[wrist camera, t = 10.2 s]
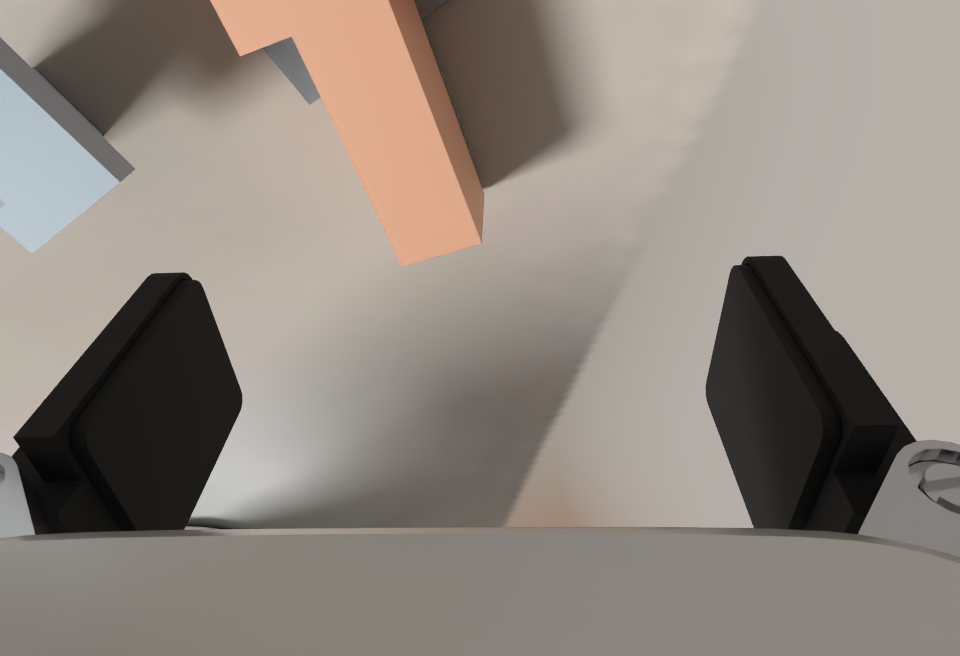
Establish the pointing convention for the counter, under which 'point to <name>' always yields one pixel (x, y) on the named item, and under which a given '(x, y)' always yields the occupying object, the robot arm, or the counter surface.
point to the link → (380, 111)
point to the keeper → (47, 156)
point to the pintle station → (295, 67)
